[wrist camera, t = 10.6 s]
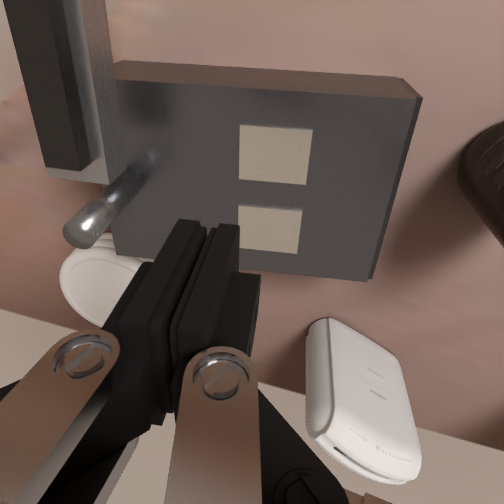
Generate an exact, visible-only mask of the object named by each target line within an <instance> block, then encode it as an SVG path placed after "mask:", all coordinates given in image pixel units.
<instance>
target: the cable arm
mask: <svg viewBox="0 0 504 504" xmlns="http://www.w3.org/2000/svg"><path fill="white" fill-rule="evenodd" d="M3 3H4V7H5V11H6V14H7V18H8V22H9V26H10V30H11V34H12V38H13V42H14V46H15V49H16V53H17V57H18V61H19V65H20V69H21V73H22V76H23V81H24V84H25V88H26V92H27V96H28V100H29V104H30V108H31V112H32V116H33V119H34V123H35V127H36V131H37V135H38V139H39V143H40V147H41V151H42V154H43V158H44V162H45V166H46V168H47V172H48V175H49V177H52V178H60V179H68V180H75V181H83V182H91V183H99V184H106V185H110V184H111V183H112V182H113V181H114V180H115V179H116V178H117V177H118V176H119V175H120V174H121V173H122V172H123V171H124V170H125V169H126V163H125V155H124V147H123V139H122V131H121V123H120V115H119V107H118V99H117V91H116V83H115V75H114V67H113V59H112V51H111V43H110V35H109V28H108V20H107V12H106V4H105V0H3Z"/></svg>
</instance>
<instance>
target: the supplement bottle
mask: <svg viewBox="0 0 504 504" xmlns="http://www.w3.org/2000/svg"><path fill="white" fill-rule="evenodd" d="M458 179H459V186H460V189H461V191H462V193H463V195H464V196H465V198H466V199H467V201H468V202H469V203H470V205H471V206H472V207H473V209H474V210H475V211H476V213H477V214H478V215H479V217H480V218H481V219H482V220H483V222H484V223H485V224H486V226H487V227H488V228H489V230H490V231H491V232H492V233H493V235H494V236H495V237H496V239H497V240H498V241H499V243H500V244H501V245H502V247H503V248H504V121H503V122H500V123H498V124H496V125H494V126H493V127H491V128H489V129H488V130H486V131H485V132H484V133H482V134H481V135H480V136H479V137H478V138H477V139H476V140H475V141H474V142H473V143H472V144H471V146H470V147H469V148H468V150H467V151H466V153H465V155H464V156H463V158H462V161H461V164H460V167H459V174H458Z"/></svg>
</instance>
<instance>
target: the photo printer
mask: <svg viewBox="0 0 504 504" xmlns="http://www.w3.org/2000/svg"><path fill="white" fill-rule="evenodd" d="M306 429H307V432H308V434H309V436H310V437H311V438H312V440H313V441H314V442H315V443H316V444H317V445H318V446H319V447H320V448H321V449H322V450H323V451H324V452H326V453H327V454H328V455H329V456H330V457H332V458H333V459H334V460H336V461H337V462H339V463H340V464H341V465H343V466H345V467H346V468H348V469H349V470H351V471H353V472H355V473H357V474H359V475H361V476H363V477H366V478H368V479H370V480H373V481H376V482H380V483H385V484H392V485H402V484H405V483H406V482H407V481H411V480H414V479H416V477H417V476H418V474H419V471H420V468H421V462H422V455H421V448H420V444H419V440H418V436H417V431H416V427H415V423H414V419H413V415H412V411H411V407H410V403H409V399H408V395H407V391H406V387H405V383H404V379H403V375H402V371H401V368H400V364H399V362H398V360H397V359H396V358H395V357H394V356H393V355H392V354H391V353H389V352H388V351H386V350H385V349H383V348H382V347H380V346H379V345H377V344H376V343H374V342H373V341H371V340H369V339H368V338H366V337H365V336H363V335H361V334H360V333H358V332H356V331H354V330H353V329H351V328H350V327H348V326H346V325H344V324H342V323H341V322H339V321H337V320H334V319H332V318H328V319H327V318H324V319H320V320H318V321H316V322H314V323H313V324H312V325H311V326H310V328H309V333H308V335H307V337H306Z"/></svg>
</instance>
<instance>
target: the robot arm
mask: <svg viewBox="0 0 504 504" xmlns="http://www.w3.org/2000/svg"><path fill="white" fill-rule="evenodd" d="M239 247H240V225H233V224H224V223H219V225H218V228H213V227H212V228H211V229H210V232H209V234H208V236H207V228H206V227H204V226H201V224H200V221H197V220H188V219H178V221H177V222H176V224H175V226H174V227H173V229H172V231H171V233H170V234H169V236H168V238H167V239H166V241H165V243H164V245H163V246H162V248H161V250H160V251H159V253H158V255H157V257H156V258H155V260H154V262H149V261H145V262H143V263H142V264H141V265H140V267H139V268H138V270H137V272H136V273H135V275H134V277H133V278H132V280H131V281H130V283H129V285H128V286H127V288H126V289H125V291H124V293H123V294H122V296H121V297H120V299H119V301H118V302H117V304H116V305H115V307H114V309H113V310H112V312H111V313H110V315H109V317H108V318H107V320H106V321H105V323H104V325H103V326H102V328H101V329H100V330H99V329H86V330H81V331H78V332H74V333H71V334H70V335H68V336H66V337H64V338H62V339H61V340H59V341H58V342H57V343H56V344H55V345H53V346H52V347H51V348H50V349H49V351H48V352H47V353H46V354H45V355H44V356H43V357H42V358H41V359H40V360H39V361H38V362H37V363H36V364H35V365H34V367H33V368H32V369H31V370H30V371H29V372H28V373H27V374H26V375H25V377H23V378H22V379H21V380H18V381H16V382H14V383H12V384H9V385H7V386H5V387H3V388H0V504H106V502H107V500H108V498H109V496H110V495H111V493H112V491H113V489H114V487H115V485H116V484H117V482H118V480H119V478H120V476H121V474H122V473H123V471H124V469H125V467H126V465H127V463H128V461H129V460H130V458H131V456H132V454H133V452H134V450H135V449H136V446H137V443H138V441H139V436H140V435H142V434H143V433H145V432H146V431H148V430H150V427H151V424H154V425H160V426H162V424H163V421H164V418H165V415H166V413H173V412H174V415H175V423H176V429H175V436H174V442H173V449H172V455H171V462H170V469H169V475H168V481H167V488H166V494H165V501H164V504H392V503H389V502H387V501H385V500H382V499H380V498H377V497H375V496H372V495H370V494H368V493H365V494H364V496H360V495H358V494H356V493H353V492H351V491H349V490H346V489H344V488H343V487H342V486H341V485H340V483H339V481H338V480H337V479H336V477H335V476H334V475H333V474H332V473H331V472H330V471H329V469H328V468H327V467H326V466H325V465H324V464H323V463H322V461H321V460H320V459H319V458H318V457H317V456H316V455H315V453H314V452H313V451H312V450H311V449H310V448H309V447H308V446H307V444H306V443H305V442H304V441H303V440H302V438H301V437H300V436H299V435H298V434H297V433H296V432H295V431H294V429H293V428H292V427H291V426H290V425H289V424H288V422H287V421H286V420H285V419H284V418H283V417H282V415H281V414H280V413H279V412H278V411H277V410H276V409H275V408H274V406H273V405H272V404H271V403H270V402H269V401H268V399H267V398H266V397H265V396H264V395H263V394H262V393H261V391H260V390H259V389H258V378H257V371H256V367H255V365H254V363H253V362H252V360H251V359H250V358H251V352H252V346H253V340H254V334H255V328H256V321H257V314H258V306H259V295H260V283H261V275H258V274H249V273H241V272H239Z"/></svg>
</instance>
